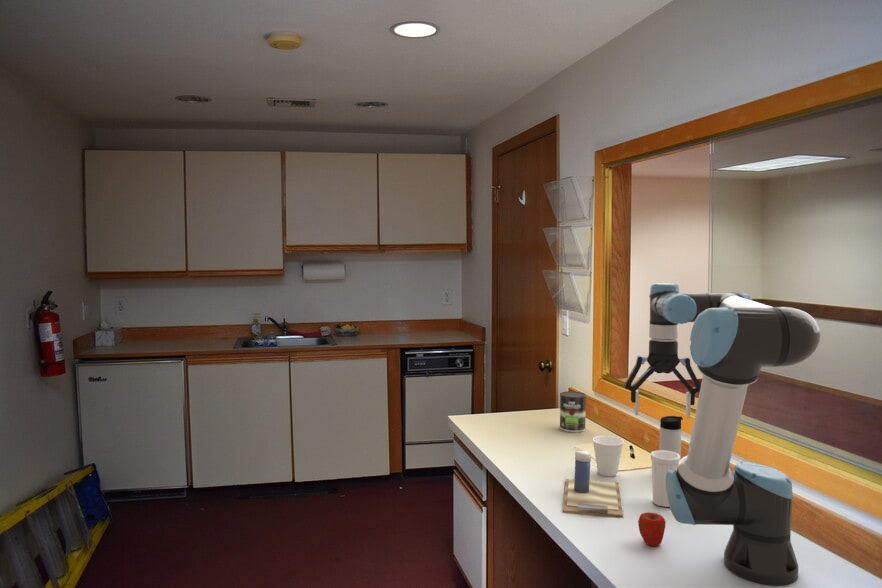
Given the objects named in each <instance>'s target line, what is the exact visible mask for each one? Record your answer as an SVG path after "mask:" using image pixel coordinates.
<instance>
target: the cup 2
mask: <svg viewBox="0 0 882 588" xmlns="http://www.w3.org/2000/svg"><path fill="white" fill-rule="evenodd" d="M650 460H651V479H652V481H651V483H652V485H651V486H652V502H653V503H654V504H655V505H656V506H660V507H667V508H670V505H669V501H668V496H667V490H666V473H667V472H668V471H670V470H677V469H678V464H679V461H680V455H679V454H677V453H675V452H671V451H665V450H660V449H658V450H653V451H651V452H650Z"/></svg>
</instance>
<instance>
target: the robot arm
mask: <svg viewBox="0 0 882 588" xmlns="http://www.w3.org/2000/svg"><path fill="white" fill-rule="evenodd" d="M649 288H650V289H649V295H648V298H649V327H648V328H649V330H648V333H649V334H648V336H649V338H650V339H649V340H648V355H647V356H642V355H640V354H639V355H637V356H636V361H635V364H634V366H633V368H632V369H631V372H630V373H629V375H628V376H627V379H626V380H625V383H624V388H625V389H626V390H629V391H630V401H631V403H632V404H633V403H634V415H635V416H639V402H640V401H639V400H640V399H639V397H640V395H639V394H640V392H639V390H638V389H639V388H640V387H641V386H642V385H643V384H644V383H645V382H646V381H647V379H648V378H650V376H651V375H653V374H654V372H655V373H657V374H663V373H664V374H670V373H673V374H674V375H675V376H676V377H677V379H678V380H679V381H680V382H681V383H682V384H683V386H684V387H685V388H686V389H687V390H688V391H686V392H685V416H686V418H687V419H689V418H691V408H692V407H691V406H695V402H696V393H699V394H698V400H697V405H696V410H695V414H694V418H693V419H694V420H693V425H692V430H691V436H690V440H689V441H690V442H689V447H688V451H687V455H684V456H683V457H682V458H681V460H680V461H679V464H678V469H677V470H670V471H668V472H667V473H666V490H667V496H668V501H669V505H670V507H669V509H670V511H671V514H672V517H674V519H675V520H676V521H677V522H678V523H680V524H683V525H685V524H687V525H692V526H696V525H698V526H699V525H700V526H701V525H708V526H709V525H711V526H712V525H713V526H716V525H718V526H720V525H721V526H733V527H732V532H731V534H730V536H729V538H728V541H727V544H726V546H725V549H724V552H723V563H724V565H725V567H726V568H727V569H728V570H729V571H730V572H731V573H733V574H734V575H736V576H738V577H741V578H743V579H745V580H748V581H750V582H754V583H758V584H762V585H769V586H783V585H784V586H785V585H789V584H792V583H794V582H796V581H797V580H798V578H799V563H798V561H797V557H796V554H795V550H794V548H793V544H792V542H791V541H792V540H791V535H792V534H791V533H792V517H793V516H792V513H793V499H794V494H793V484H792V483H793V482H792V479H790V477H789V476H788V475H787V474H786V473H784V472H783V471H781V470H779V469H776V468H775V467H774V468H773V467H771V466H768V465H764V464H760V463H757V462H750V461H749V462H748V461H747V462H746V461H741V462H737V463H736V464H735V466H734V467H733V469H734V470H732V469H731V468H730V464H731V460H732V456H733V452H734V451H733V450H734V448H735V442H736V438H737V434H738V431H739V424H740V422H741V417H742V412H743V409H744V403H745V400H746V396H747V392H748V388H749V385H752V384H754V383H756V382H757V381H758V380H759V377H760V373H761V369H762V367H763V368H764V367H768V368H769V367H773V368H774V367H781V368H782V367H787V366H788V367H790V366H794V365H796V364H799V363H802V362H804V361H805V360H807V359H808V358H809V357H811V356H812V355H813V354H814V353H815V351H816V349H817V348H818V346H819V344H820V341H821V330H820V327H819V325H818V322H817V321H816V320H815V318H814V317H813V316H812V315H810V314H809V313H807V312H806V311H804V310H801V309H798V308H794V307H790V306H775V307H773V306H771V305H768V304H767V305H766V304H765V303H761V302H758V301H754V300H753V299H752V298H751V296H750V295H749V294H748V293H743V292H742V293H741V292H723V293H721V292H720V293H719V292H717V293H716V292H714V293H709V292H708V293H707V292H706V293H705V292H680V287H679V285H678V283H672V282H671V283H668V282H666V283H665V282H662V283H661V282H659V283H657V282H655V283H652V284H651V285H650V287H649ZM687 323H693V324H692V328H691V332H690V337H689V338H690V339H689V341H690V345H689V350H690V351H689V352H690V357H691V359H692V361H693V363H695V364H696V366H697V369H698V371H699V372H700V374H702V378H701V384H700V382H699V379H698V377H697V376H696V374H695V371H694V370H693V368H692V366H691V359H690V357H688V356H684V357H679V354H678V351H679V342H678V340H677V339H679V325H683V324H687ZM646 362H647V363H648V365H649V366H648V368H647V369H646V370H645V371H644V372H643V373H642V374H641V375H640V377H639V378H637V380H636V381H635V382H634V380H635V379H636V376H637V375H638V373H639V371H640V369H641V366H642V365H644V364H645V363H646ZM680 363H681V365H682V366H684V367H685V370H686V371H687V373H688V376H689V377H690V379H691V382H692V383H693V385H694V387H692V385H691V384H690V383H689V382H688V381H687V380H686V379H685V377H684V376H683V375H682V373H681V372H680V371H679V370H678V369H677V366H679V364H680ZM633 382H634V383H633Z"/></svg>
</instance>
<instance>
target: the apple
mask: <svg viewBox="0 0 882 588" xmlns="http://www.w3.org/2000/svg"><path fill="white" fill-rule="evenodd" d="M637 522H638V524H637V525H638V530H639V534H640V536H641V538H642V540H643V542H644V543H646V544H647V545H649V546H652V547H658V546H660V545H661V544H662V542H663V539H664V536H665V530H666V523H667V521H666V519H665V517H663V516H662V515H660V514H659V513H657V512H656V513H655V512H651V511H650V512H644V513H643V512H642V513H641V514H640V515H639V518H638V521H637Z"/></svg>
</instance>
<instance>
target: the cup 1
mask: <svg viewBox="0 0 882 588" xmlns="http://www.w3.org/2000/svg"><path fill="white" fill-rule="evenodd" d="M591 441H592V442H593V449H594V455H595V461H596V469H597V470H596V471H597V473H598V474H599V475H600V476H604V477H615V476H616V475H618V472H619V465H620V461H621V457H622V456H621V455H622V451H623V446H624V444H625V441H624V440H623V439H622V438H621V437H618V436H613V435H597V436H595V437H593V438H592V439H591Z"/></svg>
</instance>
